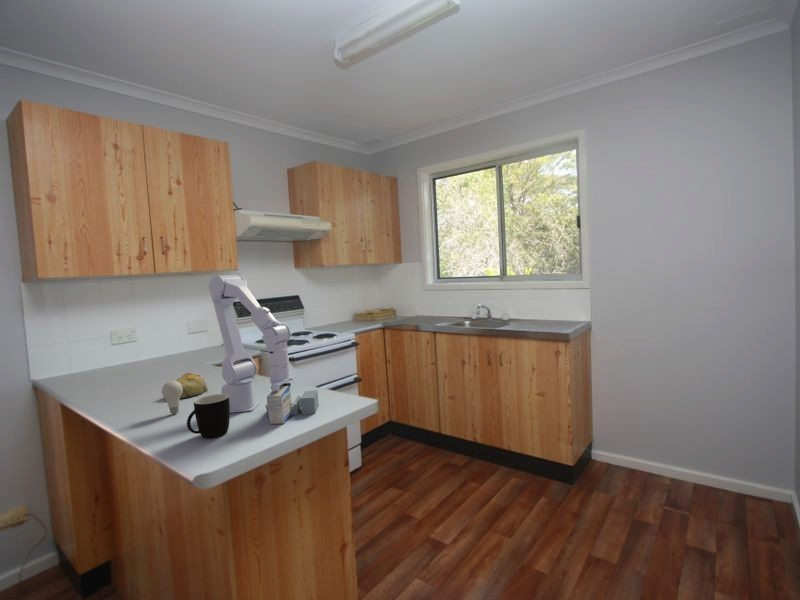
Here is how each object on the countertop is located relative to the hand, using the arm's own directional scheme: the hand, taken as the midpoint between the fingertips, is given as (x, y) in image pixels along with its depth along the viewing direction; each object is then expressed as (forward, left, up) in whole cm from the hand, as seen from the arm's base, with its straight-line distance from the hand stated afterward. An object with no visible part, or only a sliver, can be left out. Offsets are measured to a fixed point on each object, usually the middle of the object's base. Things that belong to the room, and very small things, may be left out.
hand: (282, 407), depth 131 cm
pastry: (-43, +33, -2) cm, 54 cm away
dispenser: (+3, +2, -2) cm, 4 cm away
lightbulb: (-37, +9, -2) cm, 38 cm away
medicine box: (0, -5, -2) cm, 5 cm away
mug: (-17, -14, -2) cm, 22 cm away
